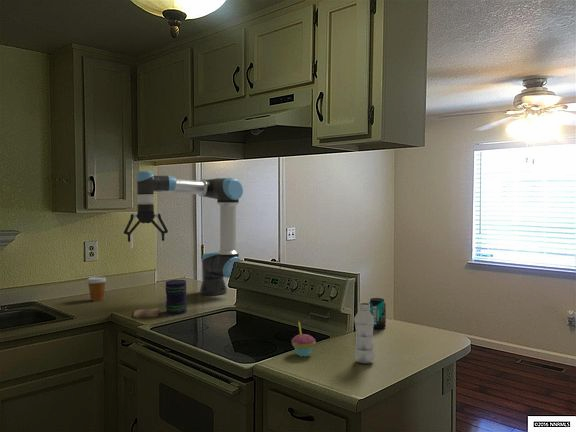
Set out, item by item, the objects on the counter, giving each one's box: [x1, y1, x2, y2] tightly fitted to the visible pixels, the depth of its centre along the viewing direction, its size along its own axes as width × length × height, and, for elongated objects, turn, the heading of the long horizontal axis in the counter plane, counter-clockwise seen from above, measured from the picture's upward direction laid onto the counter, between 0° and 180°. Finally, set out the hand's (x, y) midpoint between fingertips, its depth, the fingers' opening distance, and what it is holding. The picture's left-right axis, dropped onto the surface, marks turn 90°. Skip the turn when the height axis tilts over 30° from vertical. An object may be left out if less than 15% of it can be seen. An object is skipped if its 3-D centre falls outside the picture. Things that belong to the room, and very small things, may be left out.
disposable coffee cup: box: [86, 276, 107, 302], centre depth 267 cm, size 10×10×12 cm
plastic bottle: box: [354, 302, 376, 365], centre depth 168 cm, size 6×7×20 cm
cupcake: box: [290, 320, 317, 357], centre depth 177 cm, size 9×8×12 cm
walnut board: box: [132, 308, 160, 318], centre depth 236 cm, size 11×10×1 cm
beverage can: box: [368, 297, 387, 330], centre depth 209 cm, size 7×7×12 cm
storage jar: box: [165, 279, 188, 316], centre depth 239 cm, size 10×10×15 cm
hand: (146, 248), depth 237 cm, fingers open, 13 cm apart
